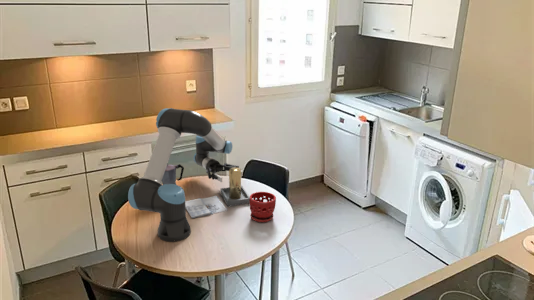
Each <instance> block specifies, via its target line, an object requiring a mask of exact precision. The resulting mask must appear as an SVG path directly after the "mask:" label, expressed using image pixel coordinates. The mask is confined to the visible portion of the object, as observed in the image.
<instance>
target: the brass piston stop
mask: <svg viewBox="0 0 534 300" xmlns="http://www.w3.org/2000/svg"><path fill="white" fill-rule="evenodd" d="M241 171H242V170H241V168H240V167H239V168H230V169H229V171H228V183H229V184H228V186H229V196H230V198H231V199H239V198H241V186H242V176H241Z"/></svg>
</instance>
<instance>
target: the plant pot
mask: <svg viewBox="0 0 534 300" xmlns="http://www.w3.org/2000/svg"><path fill="white" fill-rule="evenodd" d="M249 196H250V200H249V203H248V204H249V210H250V212H251V213H250V218H251V219H252V220H253V221H255V222H257V223H268V222H270V221H271V220H273V218H274V212H275V209H276V203H277V198H276V195H275V194H273V193H271V192H268V191H256V192H253V193H251V194H250V195H249ZM264 200H266V201H264Z"/></svg>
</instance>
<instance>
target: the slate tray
mask: <svg viewBox="0 0 534 300" xmlns="http://www.w3.org/2000/svg"><path fill="white" fill-rule="evenodd" d="M220 195H221V197H222V198H223V200H224V202H225V204H226V206H227V207H234V206H241V205H247V204H249V200H250V195H249V193H248V192H247V191H246V189H245V187H244V186H243V185H241V198H239V199H231V198H230V196H229V187H222V188H220Z"/></svg>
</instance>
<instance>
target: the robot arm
mask: <svg viewBox="0 0 534 300" xmlns="http://www.w3.org/2000/svg"><path fill="white" fill-rule="evenodd" d="M155 121H156V122H155V126H156V128H157V132H158V136H157V139H156V141H155V145H154V147H153V149H152V152H151V154H150V158H149V160H148V163H147V166H146V168H145V171H144V174H143V176H141V177H139V178H138V179H137V183H133V184H131V186H130V187H129V190H128V194H127V199H128V203H129V206H130V207H131V208H133V209H136V210H139V211H143V212H144V211H145V212H152V213H156V214H157V213H158V214H159V217H160V221H159V224H158V227H157V236H158V238H159V239H160V240H162V241H164V242H169V243H171V242H172V243H174V242H180V241H182V240H184V239H187V238H188V237H189V236H190V235H191V232H192V230H191V229H192V228H191V225H190V223H189V220H188V218H187V212H186V211H187V209H186V207H185V201H186V194H185V190H184V189H183V187H182V186H180V185H178V184H176V185H175V184H164V185H163V184H162V178H163V175H164V172H165V169H166V166H167V164H168V165H169V161H170V157H171V155H172V152H173V149H174V146H175V144H176V141H177V140H178V139H180V138H181V135H182V134H190V135H191V134H193V135H196V136H195V153H194V155H193V157H192V159H193V162H194V163H195V164H196V165H197V166H199V167H202V168H203V169H205V172H206V174H207V178H208V179H209V180H211V179H212V181H213V180H214V181H215V180H217V181H219V182H220V183H223V177H222V176H220V175H219V174H218V173H219V172H229V169H230V168H240V165H237V164H236V165H235V164H231V163H227V162H224V164H221V163H220V161H219V160H216V159H215V158H214V157H211V156H210V155H209V154H210V153H218V154H219V153H220V154H225V155H226V154H227V155H229V154H231V153H232V150H233V142H232V141H231V140H225V139H224V138H223V137H222V136H221V135H220V134H219V133H218V132H217V131H216V130H215V129H214V128H213V126H212V123H211V122H210V121H209V120H208V118H206V117H205V116H204V115H202V114H200V113H198V112H196V111H194V110H191V109H179V108H178V109H177V108H172V107H170V108H167V107H166V108H162V109H161V110H160V111H159V112H158V114H157V115H156V119H155ZM243 173H244V171H243V170H241V177H243V176H244V175H243Z"/></svg>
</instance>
